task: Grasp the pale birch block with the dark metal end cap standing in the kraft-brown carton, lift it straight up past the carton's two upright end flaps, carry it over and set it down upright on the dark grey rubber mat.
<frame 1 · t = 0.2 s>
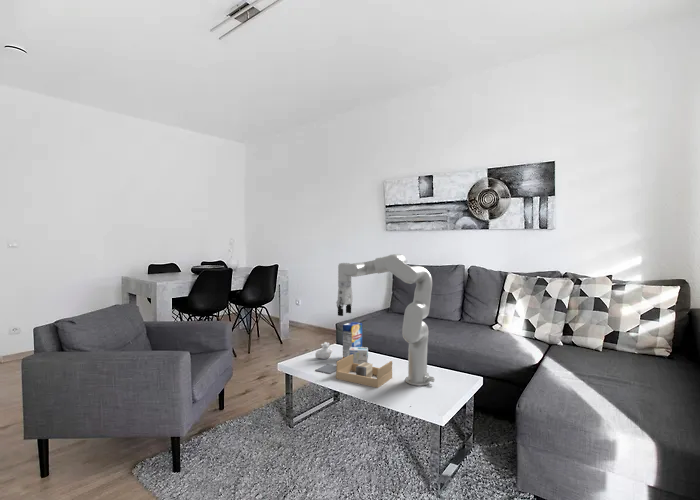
hand: (344, 314, 227), 31 cm above the table, tool pointing down, fingers open, 9 cm apart
carton: (364, 378, 211), on the table
light bulb box: (358, 367, 230), on the table
blue yellow food box: (352, 359, 243), on the table
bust: (324, 358, 246), on the table
grey mat: (328, 369, 225), on the table
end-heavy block: (364, 371, 211), in the carton
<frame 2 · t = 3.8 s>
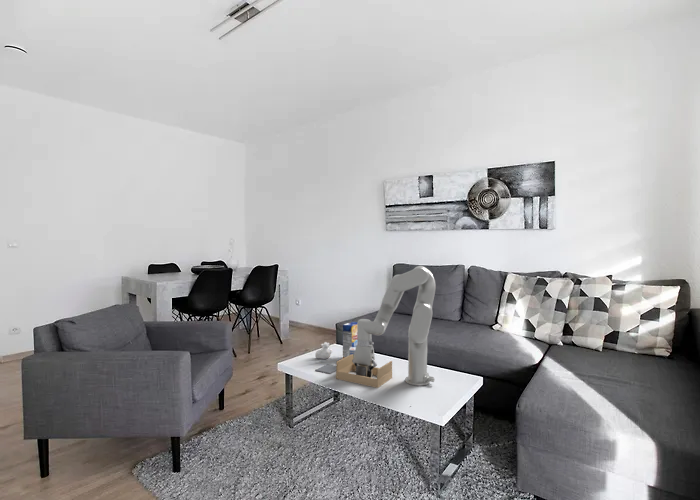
hand: (364, 376, 211), 1 cm above the table, tool pointing down, fingers closed on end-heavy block, 5 cm apart
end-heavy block: (364, 371, 211), in the carton, touching gripper
everything else where it was.
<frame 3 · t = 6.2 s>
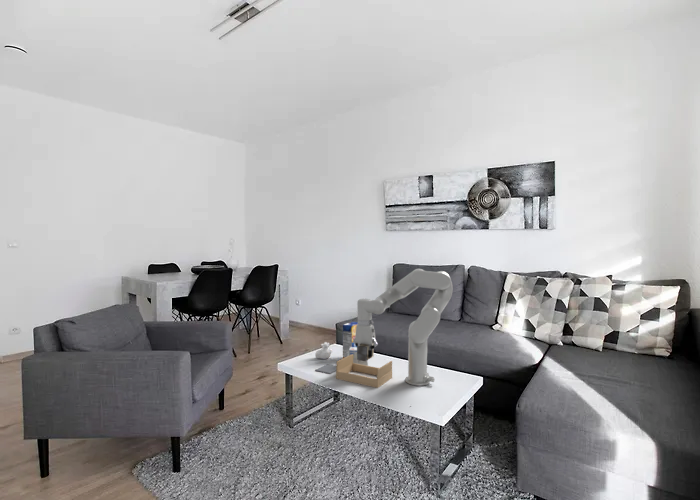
hand: (365, 356, 210), 12 cm above the table, tool pointing down, fingers closed on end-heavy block, 5 cm apart
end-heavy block: (365, 351, 210), point 14 cm above the table, touching gripper
everything else where it was.
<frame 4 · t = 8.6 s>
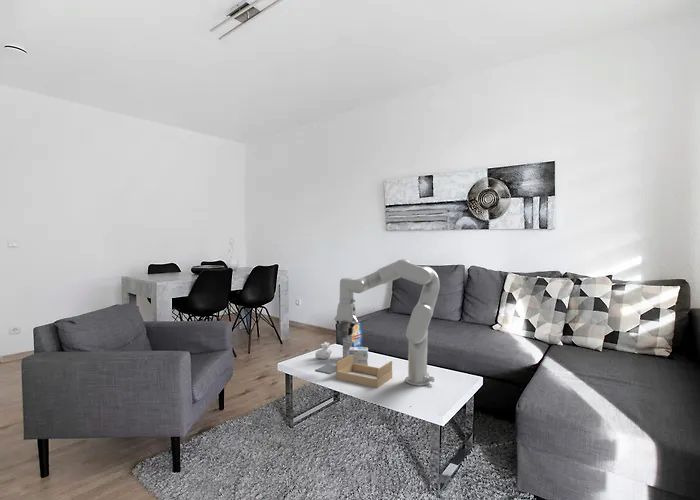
hand: (345, 333, 217), 22 cm above the table, tool pointing down, fingers closed on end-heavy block, 5 cm apart
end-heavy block: (345, 329, 217), point 25 cm above the table, touching gripper
everything else where it was.
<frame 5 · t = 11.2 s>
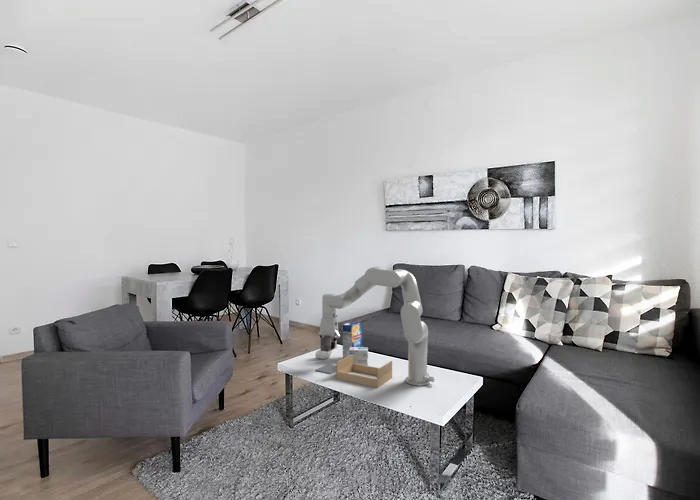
hand: (328, 347, 224), 12 cm above the table, tool pointing down, fingers closed on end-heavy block, 5 cm apart
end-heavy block: (328, 343, 224), point 15 cm above the table, touching gripper
everything else where it was.
when the fingers open (3 cm above the table, at t = 13.3 s): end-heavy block drops 1 cm, resting on grey mat.
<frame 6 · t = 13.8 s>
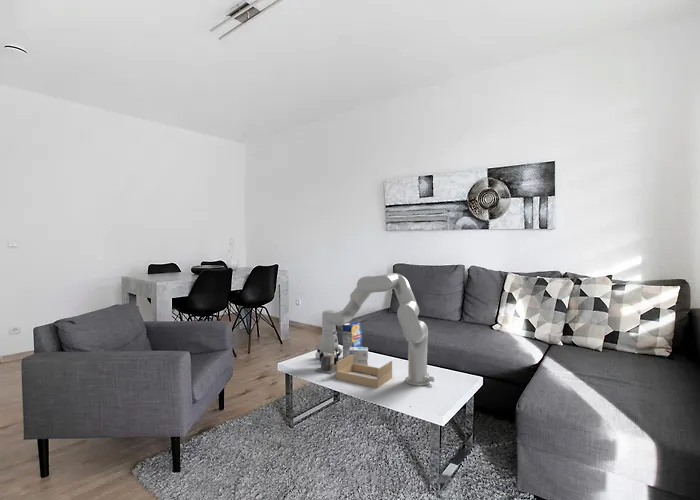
hand: (328, 362, 225), 4 cm above the table, tool pointing down, fingers open, 9 cm apart
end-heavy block: (329, 362, 224), on the grey mat, point 4 cm above the table
everything else where it was.
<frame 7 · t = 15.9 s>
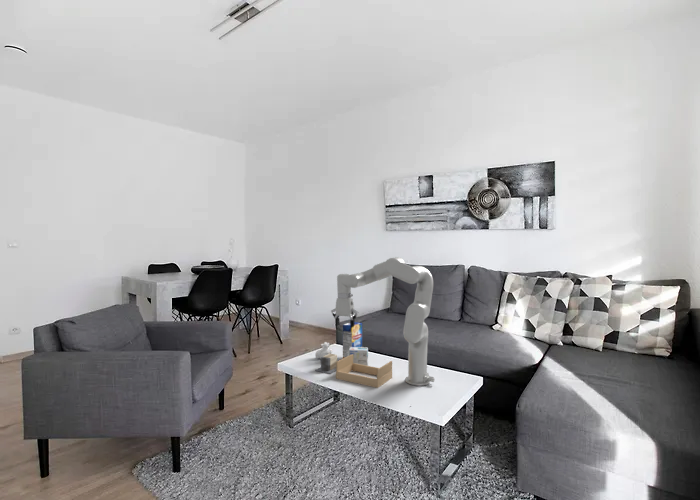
hand: (344, 326, 224), 25 cm above the table, tool pointing down, fingers open, 9 cm apart
nothing on the table moved.
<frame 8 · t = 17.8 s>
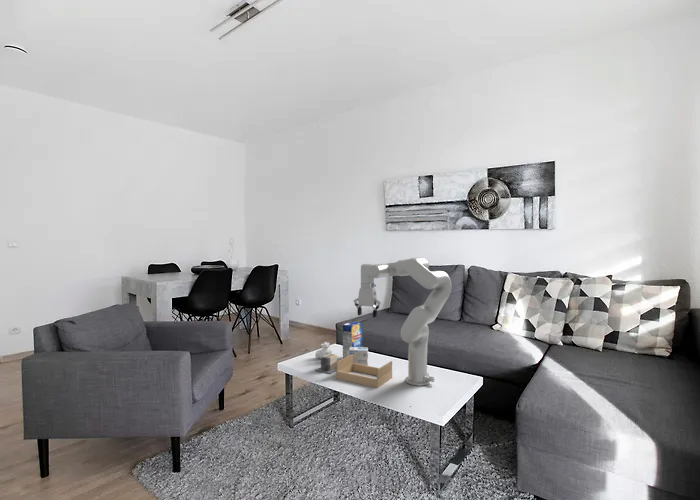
hand: (367, 315, 225), 30 cm above the table, tool pointing down, fingers open, 9 cm apart
nothing on the table moved.
at the end: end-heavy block inside the target area on the grey mat (0.2 cm from its centre), point 4.1 cm above the grey mat's base; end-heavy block tilted 0°; the gripper is holding nothing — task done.
